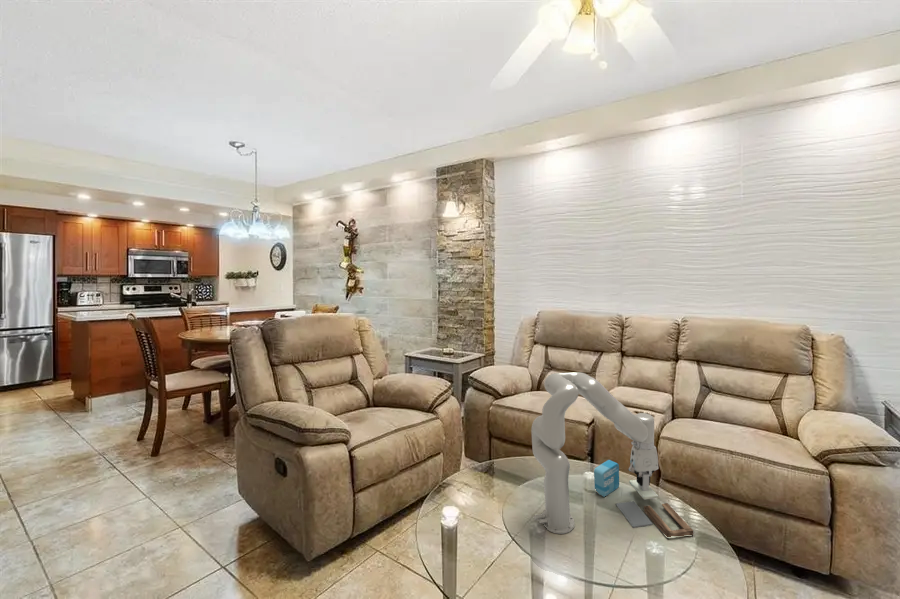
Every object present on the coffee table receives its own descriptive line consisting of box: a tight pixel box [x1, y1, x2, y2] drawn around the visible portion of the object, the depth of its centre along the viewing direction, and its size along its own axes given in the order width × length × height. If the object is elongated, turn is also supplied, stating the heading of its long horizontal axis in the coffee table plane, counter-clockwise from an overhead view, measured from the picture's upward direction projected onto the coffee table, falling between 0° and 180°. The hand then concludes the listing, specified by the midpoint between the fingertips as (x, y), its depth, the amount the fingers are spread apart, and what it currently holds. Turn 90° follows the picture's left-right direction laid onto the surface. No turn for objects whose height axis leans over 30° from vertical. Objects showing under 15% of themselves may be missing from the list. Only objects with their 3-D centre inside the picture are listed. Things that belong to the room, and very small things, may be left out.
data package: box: [593, 459, 620, 498], centre depth 181 cm, size 12×4×12 cm, turn 124°
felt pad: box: [615, 500, 654, 529], centre depth 165 cm, size 8×14×1 cm, turn 4°
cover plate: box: [628, 471, 660, 501], centre depth 173 cm, size 6×12×8 cm, turn 4°
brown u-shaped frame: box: [643, 502, 694, 537], centre depth 159 cm, size 10×16×2 cm, turn 4°
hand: (643, 483), depth 173 cm, fingers closed on cover plate, 2 cm apart
